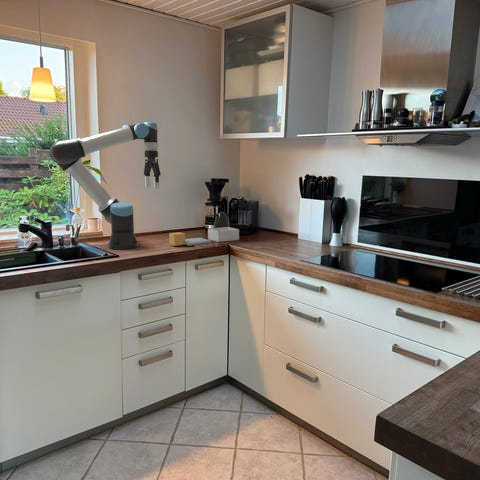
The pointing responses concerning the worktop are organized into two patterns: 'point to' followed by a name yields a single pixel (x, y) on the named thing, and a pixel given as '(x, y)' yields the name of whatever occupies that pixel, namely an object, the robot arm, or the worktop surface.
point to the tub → (223, 234)
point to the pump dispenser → (221, 220)
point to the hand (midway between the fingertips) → (152, 187)
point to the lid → (185, 240)
